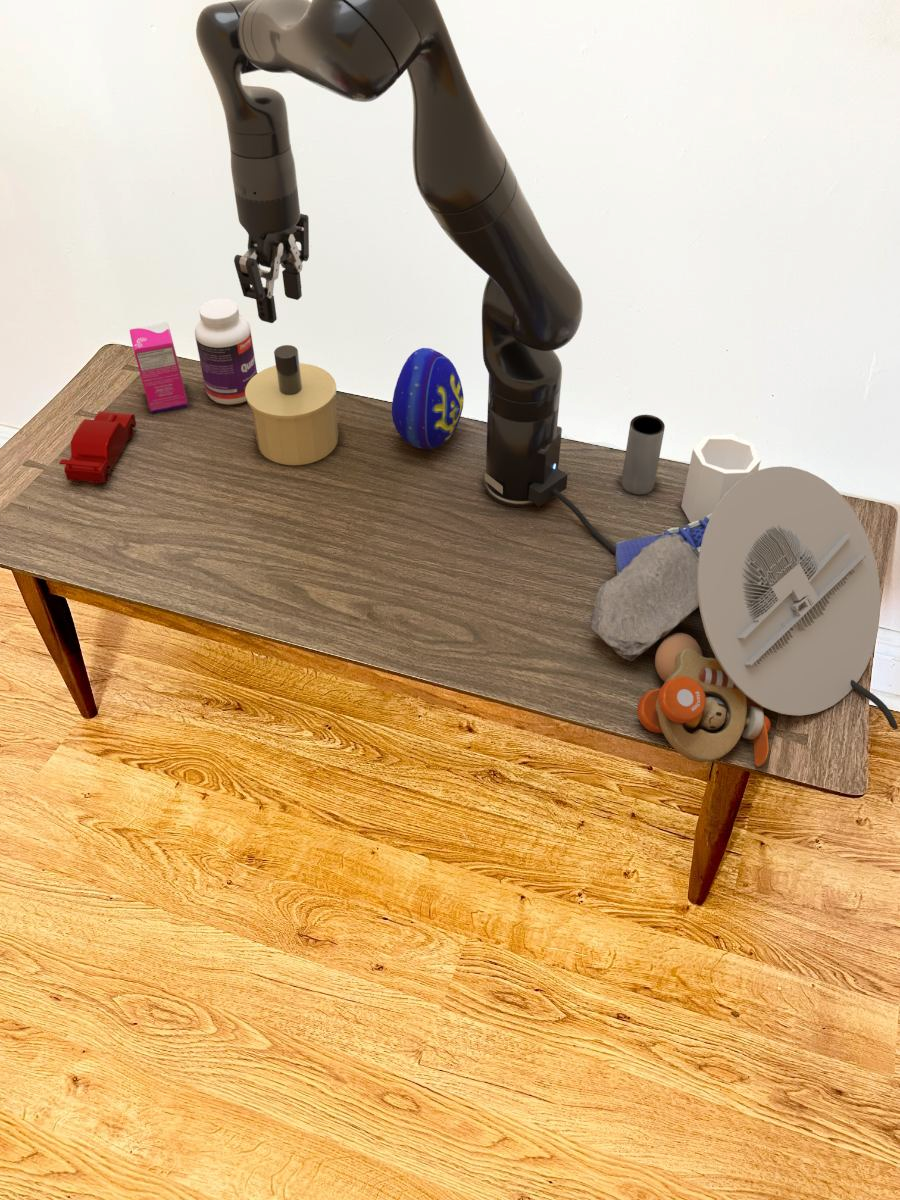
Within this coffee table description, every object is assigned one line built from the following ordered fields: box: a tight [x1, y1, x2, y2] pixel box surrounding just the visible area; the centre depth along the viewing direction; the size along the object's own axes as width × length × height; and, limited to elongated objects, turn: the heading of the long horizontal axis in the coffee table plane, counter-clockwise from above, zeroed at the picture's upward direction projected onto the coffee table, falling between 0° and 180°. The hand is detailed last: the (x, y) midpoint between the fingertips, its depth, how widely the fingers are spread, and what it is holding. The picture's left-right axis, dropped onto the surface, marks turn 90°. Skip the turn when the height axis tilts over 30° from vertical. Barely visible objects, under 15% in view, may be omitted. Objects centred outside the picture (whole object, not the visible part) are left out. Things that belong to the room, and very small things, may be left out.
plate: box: [697, 465, 881, 717], centre depth 120 cm, size 28×28×1 cm
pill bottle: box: [194, 298, 258, 406], centre depth 159 cm, size 8×8×14 cm
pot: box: [250, 396, 339, 466], centre depth 153 cm, size 12×12×8 cm
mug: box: [680, 433, 762, 523], centre depth 142 cm, size 12×9×10 cm
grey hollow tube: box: [621, 414, 666, 496], centre depth 145 cm, size 4×4×10 cm
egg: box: [654, 632, 704, 683], centre depth 123 cm, size 5×5×7 cm
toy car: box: [58, 410, 137, 485], centre depth 151 cm, size 14×6×5 cm, turn 172°
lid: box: [245, 344, 337, 419], centre depth 147 cm, size 13×13×7 cm
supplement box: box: [129, 321, 189, 414], centre depth 158 cm, size 6×6×12 cm
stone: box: [588, 534, 700, 662], centre depth 125 cm, size 15×5×10 cm
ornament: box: [391, 347, 465, 450], centre depth 150 cm, size 11×9×15 cm
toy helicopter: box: [636, 648, 771, 767], centre depth 118 cm, size 8×21×14 cm
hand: (281, 308), depth 140 cm, fingers open, 5 cm apart
